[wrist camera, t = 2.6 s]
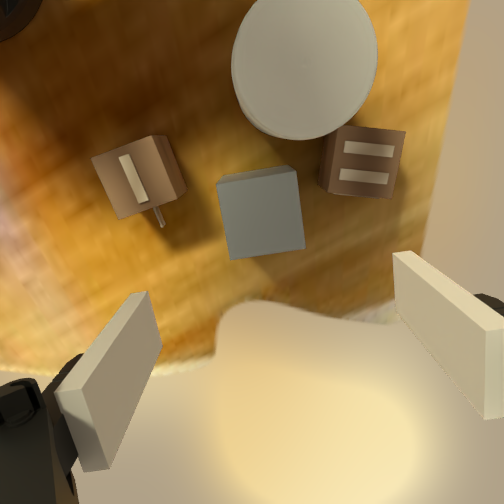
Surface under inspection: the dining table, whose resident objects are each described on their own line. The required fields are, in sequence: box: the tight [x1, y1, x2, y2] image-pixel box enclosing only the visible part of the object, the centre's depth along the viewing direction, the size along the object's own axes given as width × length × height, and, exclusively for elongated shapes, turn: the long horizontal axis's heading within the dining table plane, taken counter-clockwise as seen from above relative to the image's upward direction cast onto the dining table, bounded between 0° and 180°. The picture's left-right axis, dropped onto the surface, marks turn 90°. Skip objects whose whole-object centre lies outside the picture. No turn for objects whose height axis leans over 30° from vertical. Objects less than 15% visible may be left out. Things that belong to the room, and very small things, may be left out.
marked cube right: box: [317, 125, 406, 199], centre depth 37 cm, size 6×6×6 cm
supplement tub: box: [231, 0, 378, 140], centre depth 31 cm, size 10×10×15 cm
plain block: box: [216, 165, 306, 260], centre depth 37 cm, size 7×7×8 cm
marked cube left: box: [90, 135, 188, 228], centre depth 37 cm, size 6×8×6 cm
